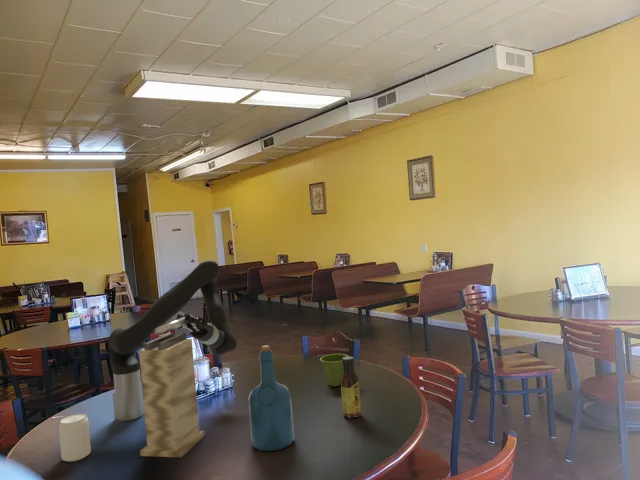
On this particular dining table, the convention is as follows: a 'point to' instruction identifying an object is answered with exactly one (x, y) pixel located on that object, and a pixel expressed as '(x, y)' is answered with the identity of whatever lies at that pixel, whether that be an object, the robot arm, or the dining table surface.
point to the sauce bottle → (350, 389)
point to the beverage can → (74, 437)
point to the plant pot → (333, 368)
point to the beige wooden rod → (170, 326)
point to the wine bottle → (270, 409)
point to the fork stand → (169, 396)
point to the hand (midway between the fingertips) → (182, 316)
